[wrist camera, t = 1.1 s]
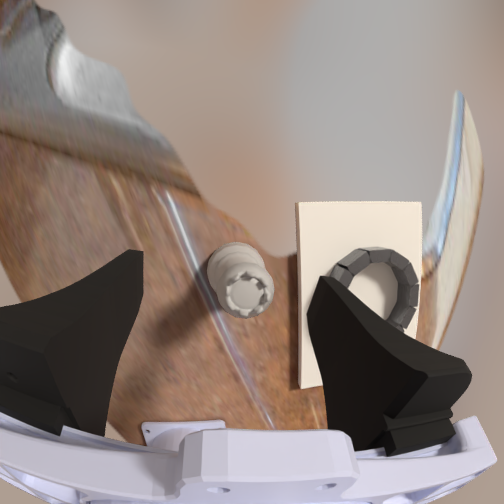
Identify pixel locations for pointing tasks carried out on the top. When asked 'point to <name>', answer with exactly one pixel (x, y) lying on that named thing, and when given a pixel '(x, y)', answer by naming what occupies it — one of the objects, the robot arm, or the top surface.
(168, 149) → the top surface
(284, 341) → the top surface
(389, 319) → the segmented grey ring
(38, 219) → the top surface
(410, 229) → the mount plate
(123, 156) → the top surface
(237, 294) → the rook chess piece
